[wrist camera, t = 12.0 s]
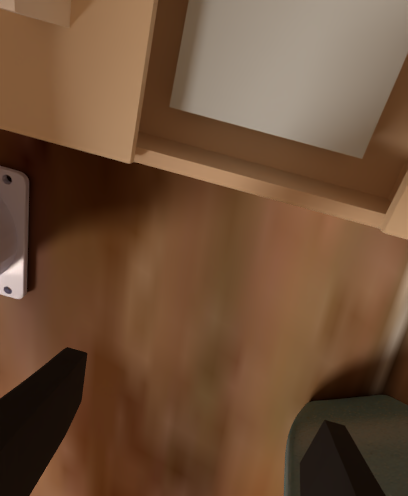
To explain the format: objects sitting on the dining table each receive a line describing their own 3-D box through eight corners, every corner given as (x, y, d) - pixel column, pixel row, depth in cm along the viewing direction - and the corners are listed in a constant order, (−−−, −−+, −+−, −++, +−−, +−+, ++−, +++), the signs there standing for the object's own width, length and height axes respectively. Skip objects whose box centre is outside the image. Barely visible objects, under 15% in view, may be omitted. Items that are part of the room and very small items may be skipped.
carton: (111, 135, 18) (79, 146, 14) (153, -217, 12) (117, -325, 9) (390, 210, 17) (421, 240, 14) (553, -116, 12) (662, -189, 9)
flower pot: (423, 363, 21) (530, 542, 13) (426, 465, 24) (513, 658, 16) (271, 379, 23) (280, 543, 15) (293, 470, 26) (311, 646, 18)
